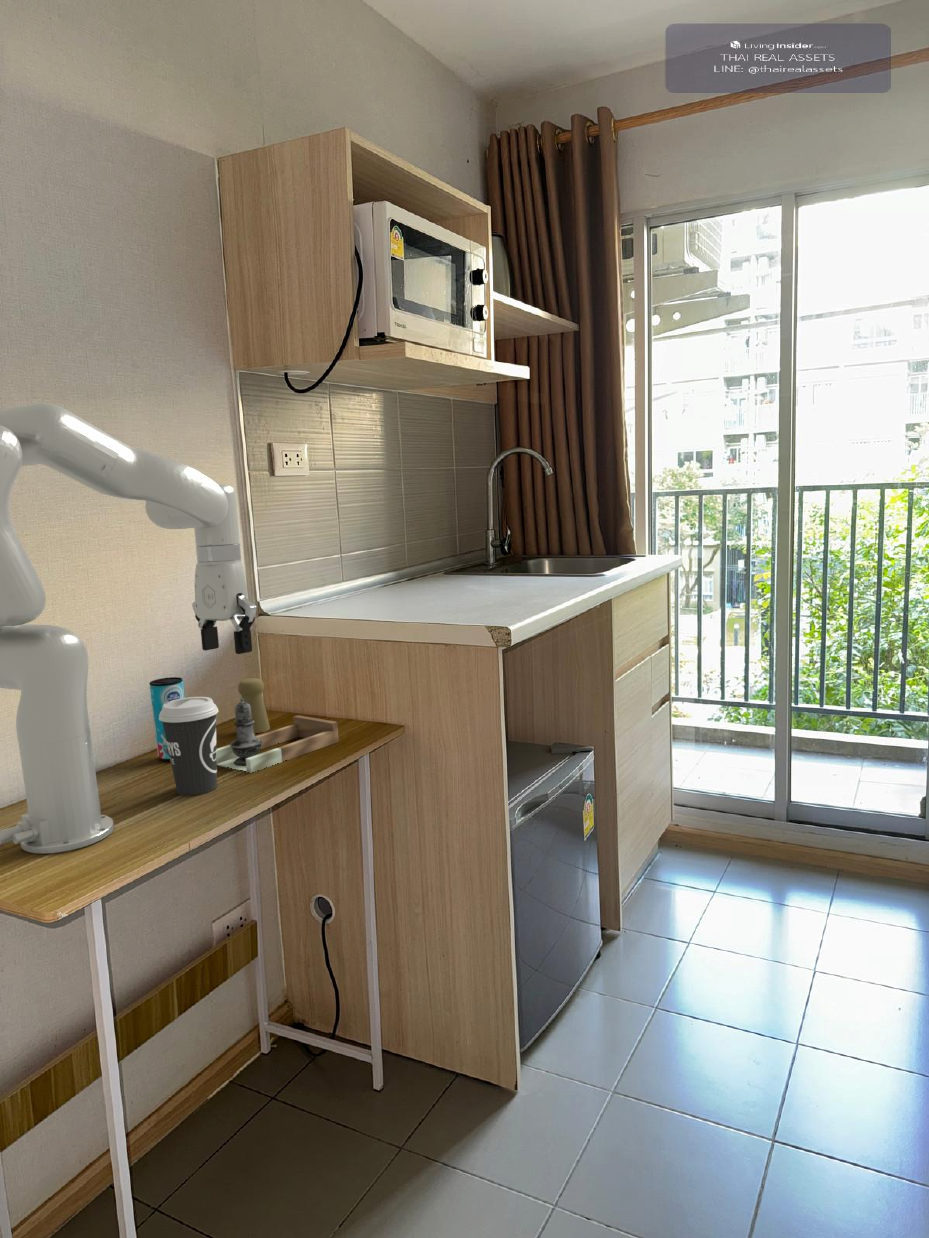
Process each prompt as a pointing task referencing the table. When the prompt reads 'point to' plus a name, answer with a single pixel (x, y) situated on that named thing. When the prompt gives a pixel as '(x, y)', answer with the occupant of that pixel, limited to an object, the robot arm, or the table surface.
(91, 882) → the table surface
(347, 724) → the table surface
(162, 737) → the beverage can
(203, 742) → the coffee cup
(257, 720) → the cork
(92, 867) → the table surface
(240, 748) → the grey chess piece
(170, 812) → the table surface
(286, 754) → the bay
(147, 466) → the robot arm
